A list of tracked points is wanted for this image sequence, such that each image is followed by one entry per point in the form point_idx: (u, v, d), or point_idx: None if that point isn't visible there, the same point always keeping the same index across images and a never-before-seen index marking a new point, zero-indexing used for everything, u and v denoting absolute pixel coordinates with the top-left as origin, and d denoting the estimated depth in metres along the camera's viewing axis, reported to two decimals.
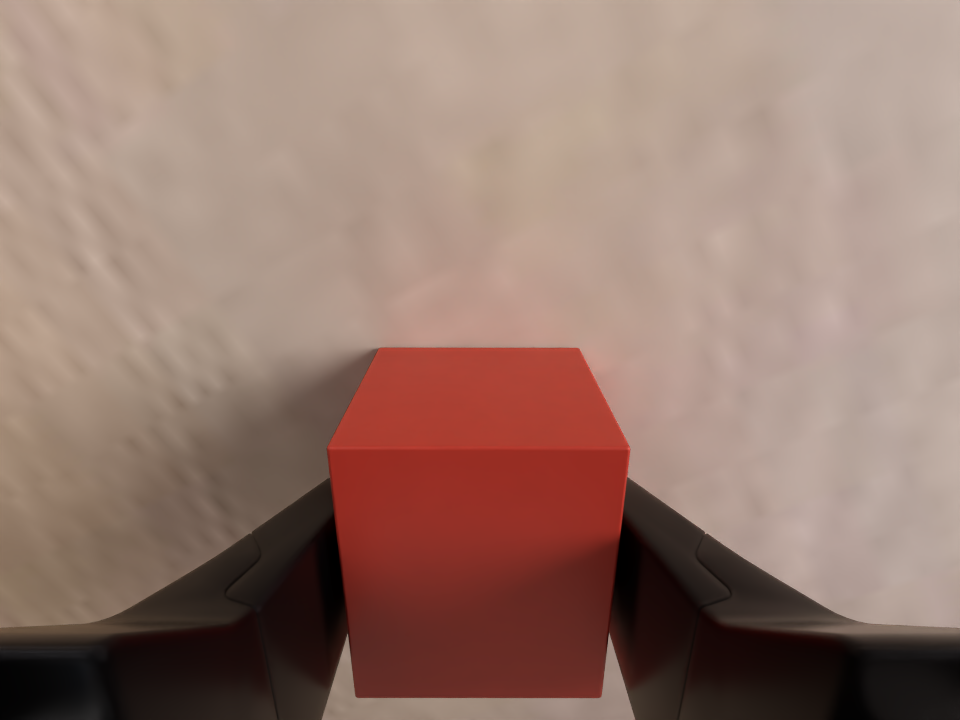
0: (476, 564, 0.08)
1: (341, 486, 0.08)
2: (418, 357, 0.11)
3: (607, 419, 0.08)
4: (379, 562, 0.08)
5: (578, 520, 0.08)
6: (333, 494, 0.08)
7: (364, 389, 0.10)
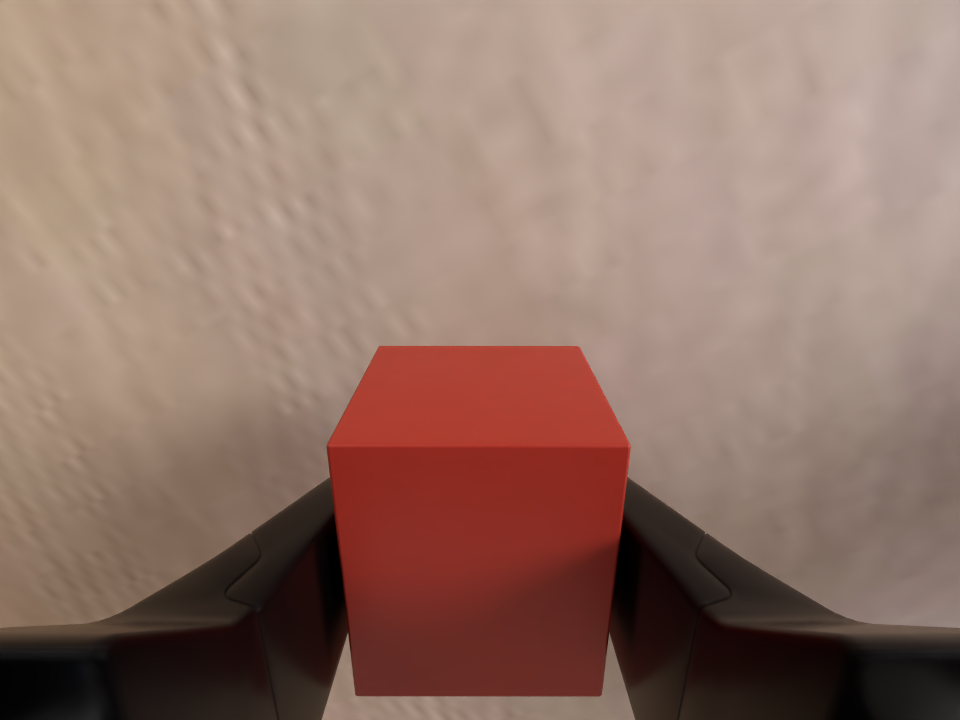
0: (476, 562, 0.08)
1: (341, 484, 0.08)
2: (419, 355, 0.11)
3: (607, 417, 0.08)
4: (380, 560, 0.08)
5: (578, 517, 0.08)
6: (333, 492, 0.08)
7: (364, 387, 0.09)
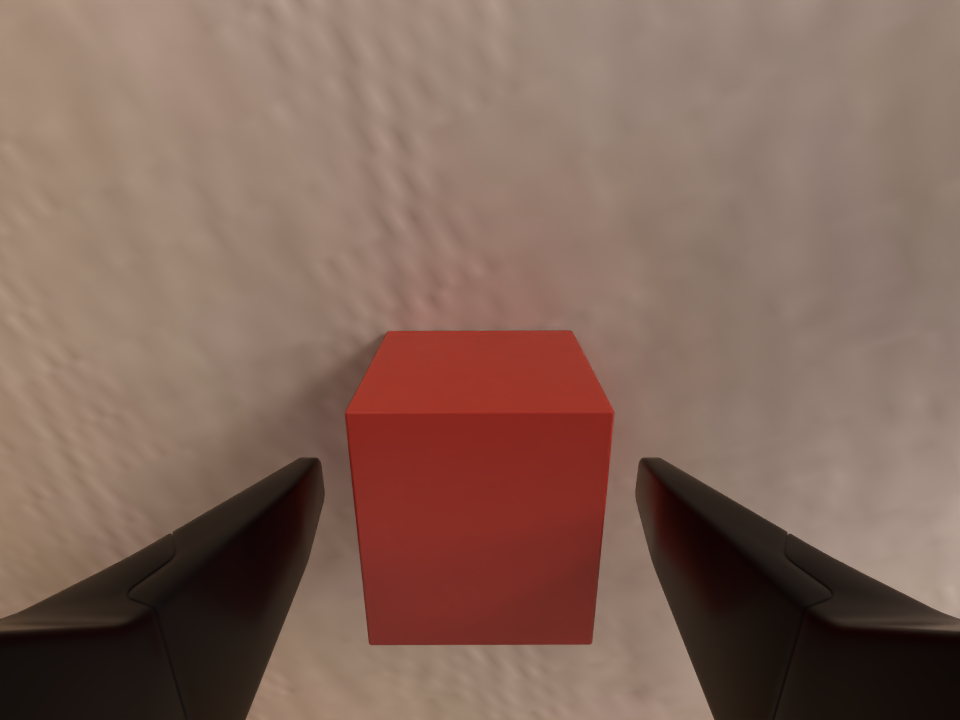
0: (477, 519, 0.09)
1: (357, 447, 0.09)
2: (424, 339, 0.12)
3: (594, 389, 0.09)
4: (392, 517, 0.09)
5: (569, 477, 0.09)
6: (350, 454, 0.09)
7: (376, 365, 0.10)
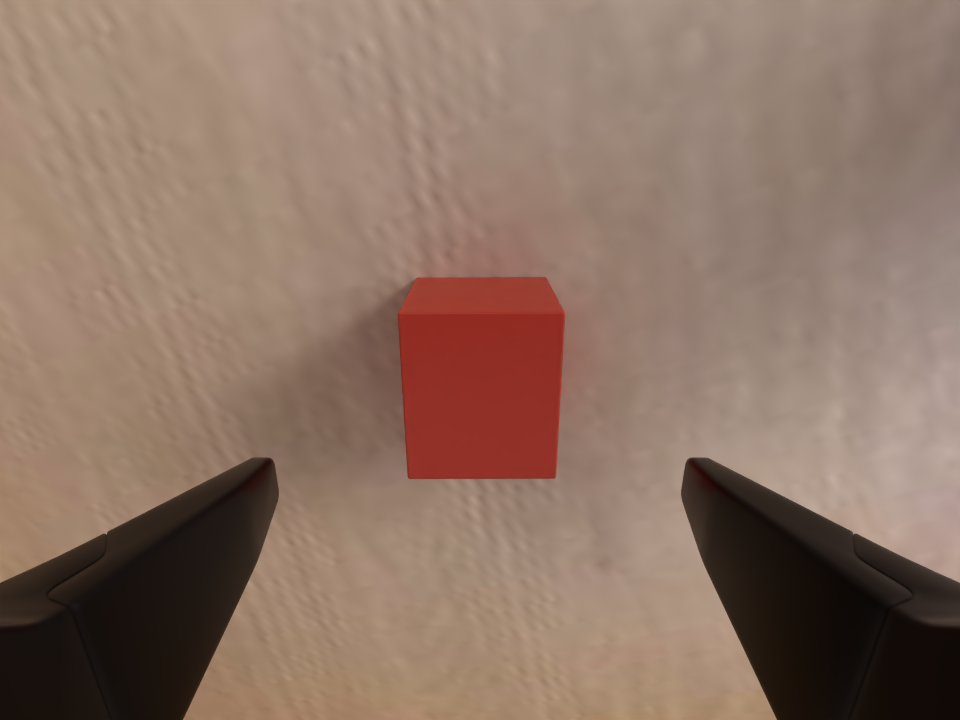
0: (480, 386, 0.15)
1: (405, 336, 0.14)
2: (443, 281, 0.17)
3: (555, 303, 0.15)
4: (425, 385, 0.15)
5: (537, 357, 0.14)
6: (400, 341, 0.14)
7: (412, 293, 0.16)
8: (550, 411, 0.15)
